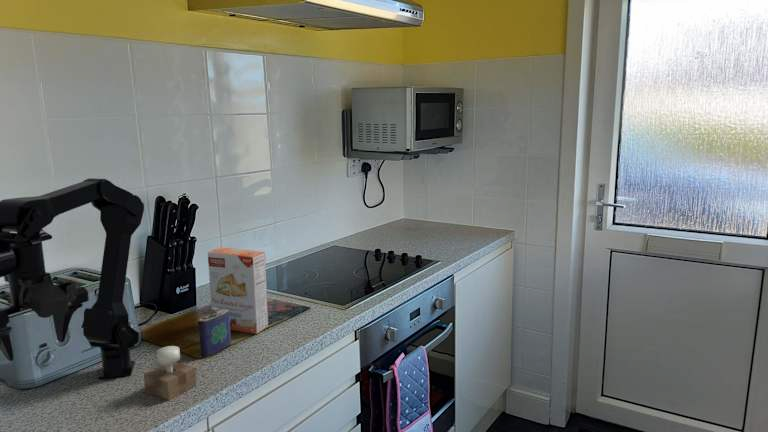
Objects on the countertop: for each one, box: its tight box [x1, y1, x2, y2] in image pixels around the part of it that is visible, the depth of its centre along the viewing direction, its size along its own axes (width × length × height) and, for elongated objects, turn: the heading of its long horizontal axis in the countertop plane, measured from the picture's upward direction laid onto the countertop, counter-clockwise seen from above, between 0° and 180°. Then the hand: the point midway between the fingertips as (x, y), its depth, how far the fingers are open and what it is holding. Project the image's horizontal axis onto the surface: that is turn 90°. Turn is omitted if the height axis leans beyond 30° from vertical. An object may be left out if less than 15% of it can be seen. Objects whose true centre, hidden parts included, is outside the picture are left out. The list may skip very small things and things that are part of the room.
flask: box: [197, 307, 232, 359], centre depth 132 cm, size 9×3×11 cm, turn 152°
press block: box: [143, 361, 197, 401], centre depth 114 cm, size 7×7×4 cm
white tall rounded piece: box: [156, 345, 181, 374], centre depth 114 cm, size 4×4×8 cm
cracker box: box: [207, 247, 269, 335], centre depth 145 cm, size 14×6×21 cm, turn 68°
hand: (37, 350), depth 102 cm, fingers open, 9 cm apart
